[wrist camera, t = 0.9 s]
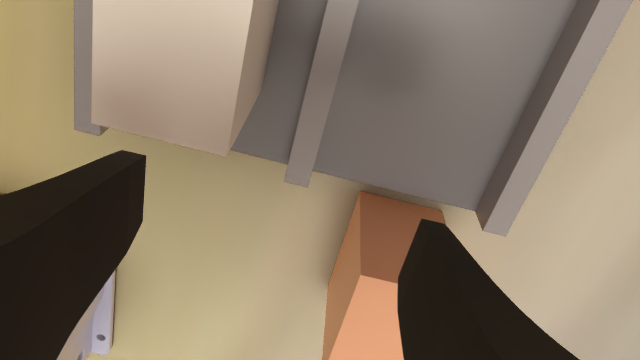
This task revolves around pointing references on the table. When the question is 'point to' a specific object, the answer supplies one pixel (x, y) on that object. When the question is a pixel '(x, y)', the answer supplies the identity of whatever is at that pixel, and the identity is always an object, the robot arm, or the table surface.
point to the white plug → (179, 67)
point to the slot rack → (414, 93)
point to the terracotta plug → (370, 279)
